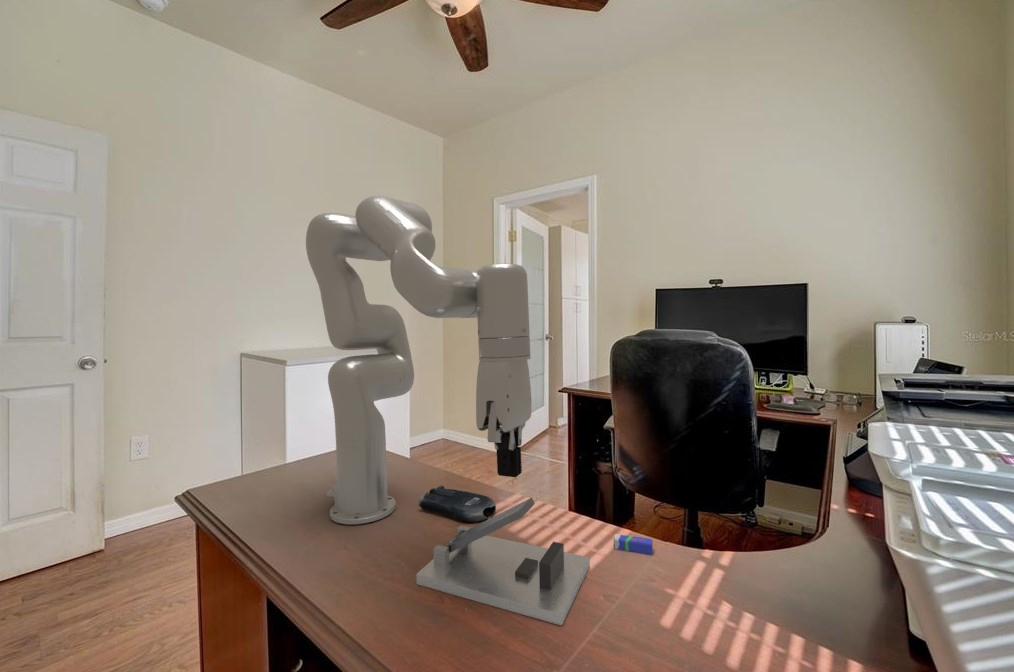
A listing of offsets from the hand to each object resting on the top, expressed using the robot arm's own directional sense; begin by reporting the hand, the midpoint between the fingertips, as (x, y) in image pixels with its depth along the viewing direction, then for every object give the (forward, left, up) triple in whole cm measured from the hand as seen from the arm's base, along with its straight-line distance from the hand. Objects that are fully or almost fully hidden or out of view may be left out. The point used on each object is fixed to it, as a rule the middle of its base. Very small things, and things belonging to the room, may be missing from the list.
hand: (509, 474), depth 64 cm
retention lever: (-4, 0, -9) cm, 10 cm away
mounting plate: (-1, 0, -16) cm, 16 cm away
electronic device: (-19, +17, -16) cm, 30 cm away
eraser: (+15, +15, -16) cm, 27 cm away
